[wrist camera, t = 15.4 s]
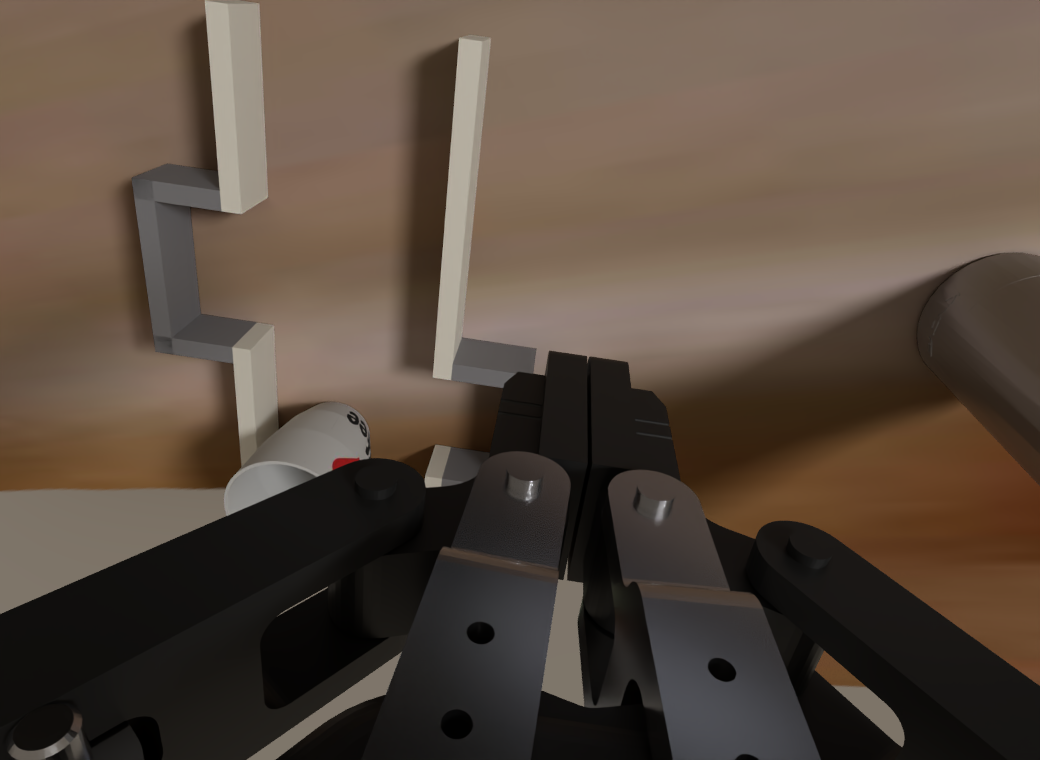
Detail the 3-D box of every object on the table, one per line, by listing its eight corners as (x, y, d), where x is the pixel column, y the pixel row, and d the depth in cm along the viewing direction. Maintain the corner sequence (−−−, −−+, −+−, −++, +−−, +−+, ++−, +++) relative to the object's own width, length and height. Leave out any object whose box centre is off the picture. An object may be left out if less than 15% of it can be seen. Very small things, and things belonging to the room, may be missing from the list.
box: (582, 51, 39) (582, 56, 36) (502, 562, 58) (497, 598, 55) (147, -14, 40) (104, -15, 36) (207, 517, 58) (183, 550, 55)
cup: (386, 482, 55) (348, 573, 46) (284, 465, 55) (227, 552, 46) (392, 393, 51) (352, 473, 42) (282, 374, 51) (219, 451, 42)
